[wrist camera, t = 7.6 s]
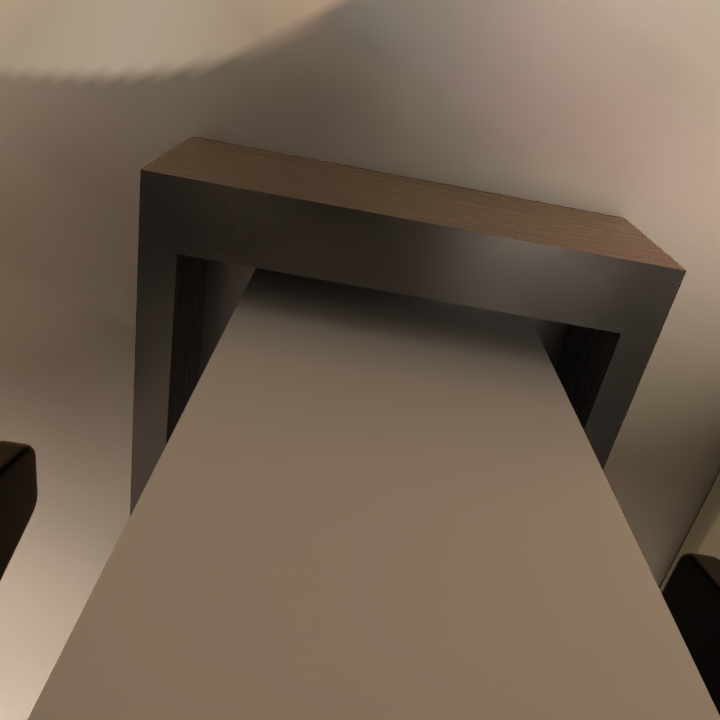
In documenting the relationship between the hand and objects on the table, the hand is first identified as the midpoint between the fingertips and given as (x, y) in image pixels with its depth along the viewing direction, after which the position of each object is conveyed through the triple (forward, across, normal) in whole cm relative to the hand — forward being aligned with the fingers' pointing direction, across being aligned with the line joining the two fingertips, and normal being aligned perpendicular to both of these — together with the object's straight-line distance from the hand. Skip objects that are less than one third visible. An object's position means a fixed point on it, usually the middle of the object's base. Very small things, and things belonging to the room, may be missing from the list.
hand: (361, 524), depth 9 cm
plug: (+3, 0, 0) cm, 3 cm away
